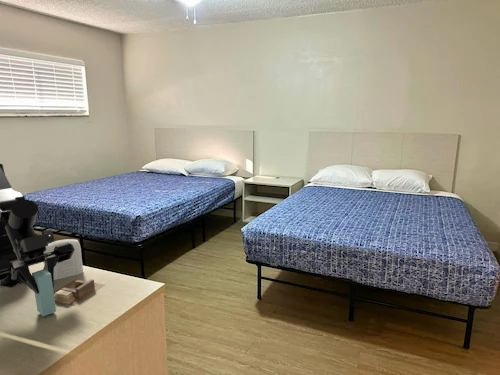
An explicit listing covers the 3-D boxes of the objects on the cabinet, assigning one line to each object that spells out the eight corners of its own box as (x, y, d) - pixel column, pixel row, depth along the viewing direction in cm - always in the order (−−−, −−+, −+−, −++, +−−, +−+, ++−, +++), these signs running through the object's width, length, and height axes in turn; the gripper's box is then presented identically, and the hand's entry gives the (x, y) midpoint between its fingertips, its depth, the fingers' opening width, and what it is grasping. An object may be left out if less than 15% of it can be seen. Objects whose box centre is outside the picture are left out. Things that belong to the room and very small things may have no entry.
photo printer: (82, 270, 115) (78, 235, 112) (84, 275, 111) (80, 239, 109) (46, 278, 109) (41, 241, 107) (47, 284, 106) (42, 246, 103)
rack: (42, 301, 96) (40, 289, 95) (76, 281, 107) (74, 270, 106) (73, 308, 93) (72, 295, 92) (105, 287, 104) (104, 275, 103)
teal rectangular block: (37, 310, 89) (31, 273, 87) (50, 305, 91) (44, 268, 89) (43, 316, 86) (37, 277, 84) (56, 311, 89) (50, 273, 86)
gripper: (-18, 232, 79) (5, 291, 75) (67, 213, 93) (90, 263, 89) (-21, 255, 86) (0, 311, 82) (58, 234, 100) (80, 281, 95)
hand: (45, 290), depth 87 cm, fingers closed on teal rectangular block, 3 cm apart
